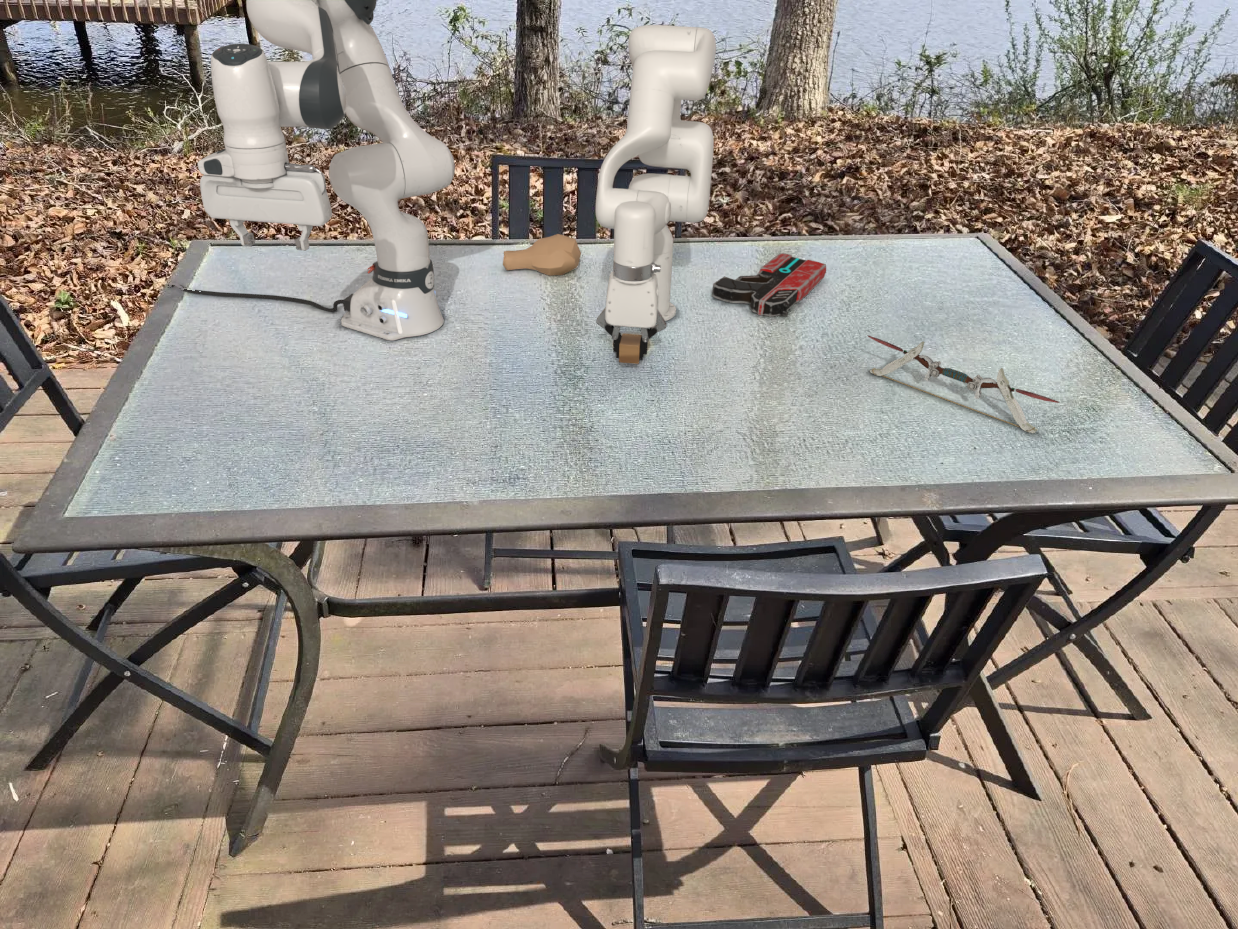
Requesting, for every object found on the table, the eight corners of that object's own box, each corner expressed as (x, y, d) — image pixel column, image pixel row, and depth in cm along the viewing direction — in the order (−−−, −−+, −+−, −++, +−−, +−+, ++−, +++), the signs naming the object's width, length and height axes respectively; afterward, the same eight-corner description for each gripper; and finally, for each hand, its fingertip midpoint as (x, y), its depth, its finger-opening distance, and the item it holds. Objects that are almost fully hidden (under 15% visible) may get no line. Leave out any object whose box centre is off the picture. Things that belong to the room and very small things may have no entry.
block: (638, 364, 174) (639, 345, 172) (618, 362, 174) (619, 344, 172) (641, 352, 178) (642, 334, 176) (621, 351, 179) (622, 333, 176)
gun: (708, 284, 207) (784, 305, 199) (760, 245, 229) (831, 262, 221) (706, 302, 209) (781, 323, 201) (758, 261, 231) (828, 278, 223)
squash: (582, 279, 220) (577, 247, 214) (504, 286, 221) (496, 255, 215) (583, 257, 228) (579, 225, 221) (508, 264, 229) (501, 233, 223)
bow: (1049, 436, 162) (1066, 388, 156) (1045, 439, 161) (1062, 391, 155) (863, 366, 183) (872, 322, 178) (859, 369, 182) (867, 325, 176)
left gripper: (330, 160, 138) (344, 245, 146) (208, 151, 140) (227, 236, 148) (313, 170, 133) (328, 258, 140) (187, 162, 135) (208, 249, 142)
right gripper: (678, 265, 168) (672, 350, 179) (592, 259, 170) (591, 344, 180) (675, 279, 162) (670, 368, 172) (586, 273, 164) (586, 361, 174)
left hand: (275, 247), depth 144 cm, fingers open, 8 cm apart
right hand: (630, 355), depth 176 cm, fingers closed on block, 4 cm apart
